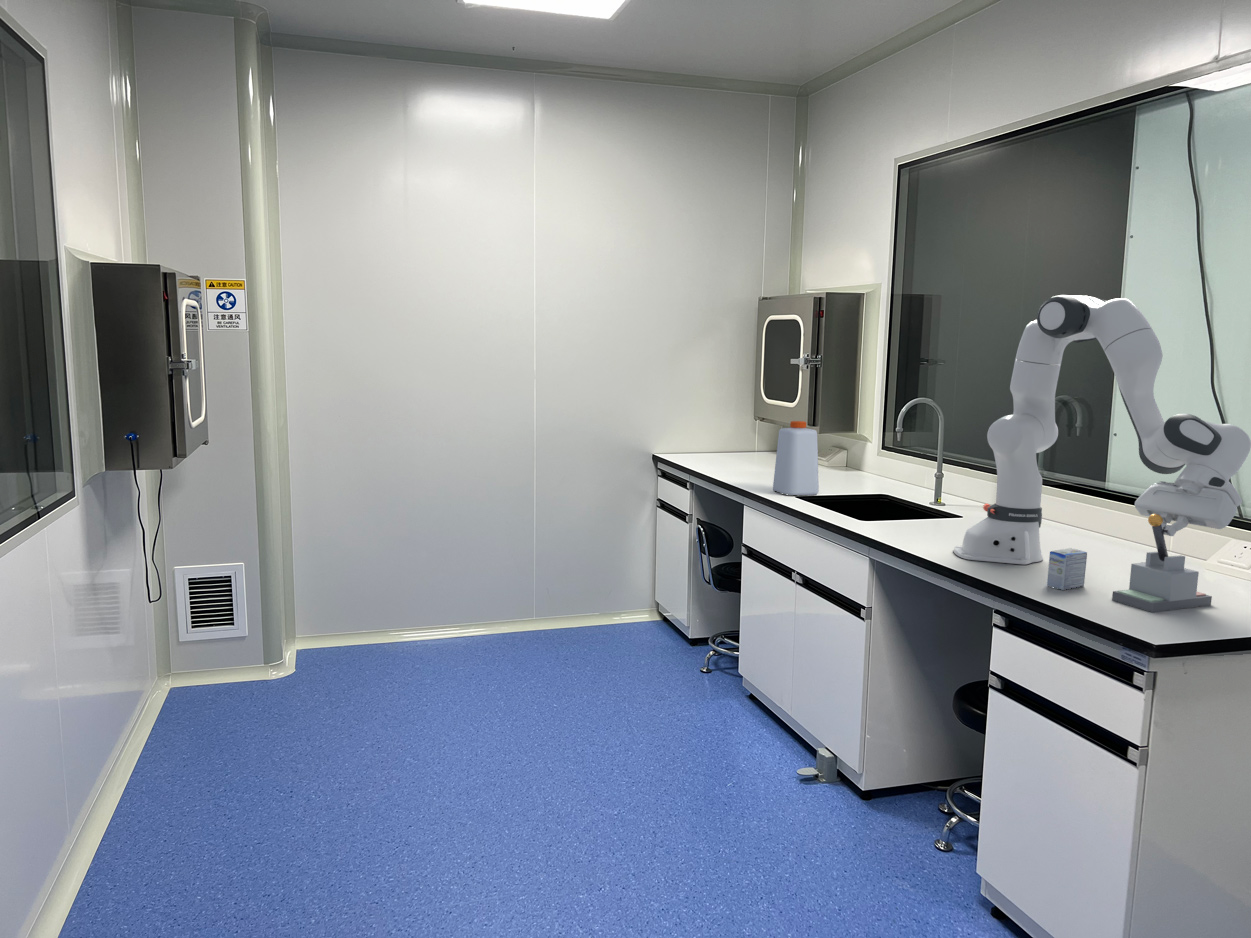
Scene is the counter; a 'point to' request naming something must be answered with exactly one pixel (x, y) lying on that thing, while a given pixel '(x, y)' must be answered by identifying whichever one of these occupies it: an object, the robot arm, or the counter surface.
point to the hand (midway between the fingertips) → (1164, 533)
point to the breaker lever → (1158, 535)
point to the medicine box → (1067, 568)
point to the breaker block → (1162, 585)
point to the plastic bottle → (797, 461)
